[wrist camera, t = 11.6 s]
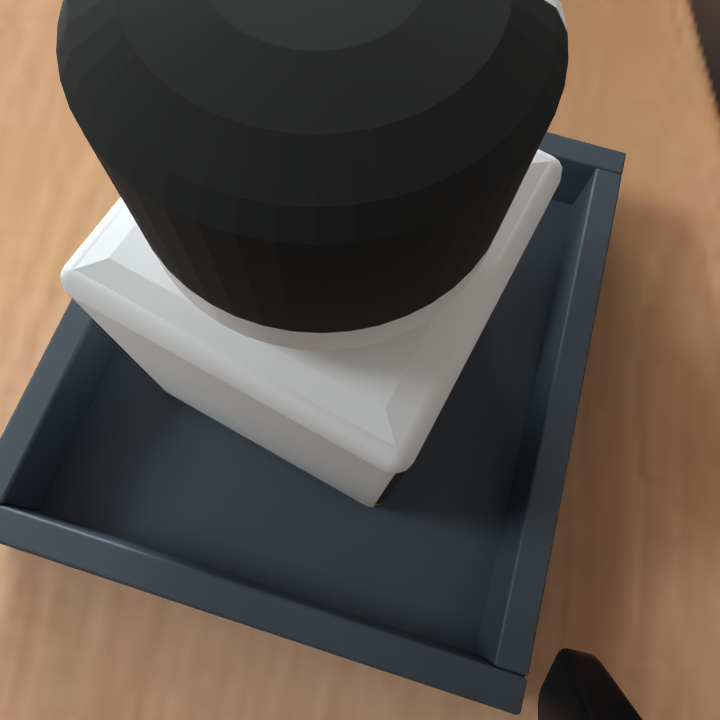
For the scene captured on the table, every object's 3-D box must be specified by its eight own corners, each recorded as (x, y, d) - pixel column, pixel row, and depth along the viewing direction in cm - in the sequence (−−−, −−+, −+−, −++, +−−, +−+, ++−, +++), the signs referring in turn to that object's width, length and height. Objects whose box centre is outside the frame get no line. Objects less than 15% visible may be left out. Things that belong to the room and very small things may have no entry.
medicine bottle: (377, 513, 16) (471, 399, 5) (159, 389, 17) (-192, 47, 6) (486, 305, 18) (731, -112, 7) (288, 204, 19) (217, -311, 8)
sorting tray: (493, 693, 15) (521, 717, 13) (8, 533, 16) (-48, 528, 14) (592, 200, 20) (626, 152, 18) (219, 97, 21) (203, 38, 19)
